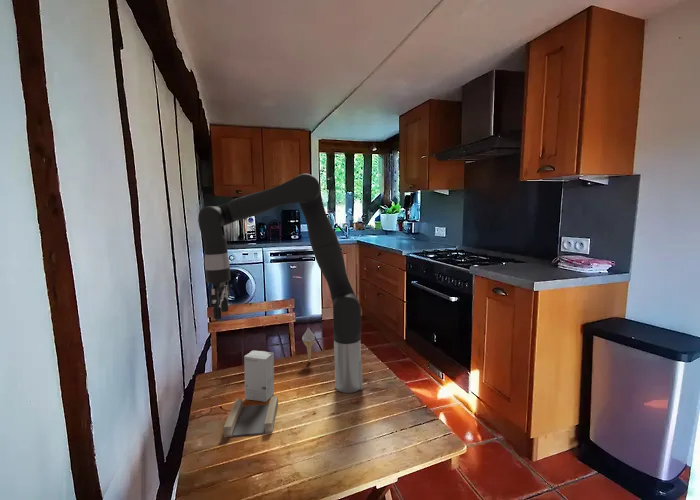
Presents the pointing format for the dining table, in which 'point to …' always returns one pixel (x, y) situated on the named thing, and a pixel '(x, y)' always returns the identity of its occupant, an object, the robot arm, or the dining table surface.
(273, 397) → the rest
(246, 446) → the dining table surface
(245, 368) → the skincare box
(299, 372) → the dining table surface
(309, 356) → the ice cream cone
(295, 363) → the dining table surface
